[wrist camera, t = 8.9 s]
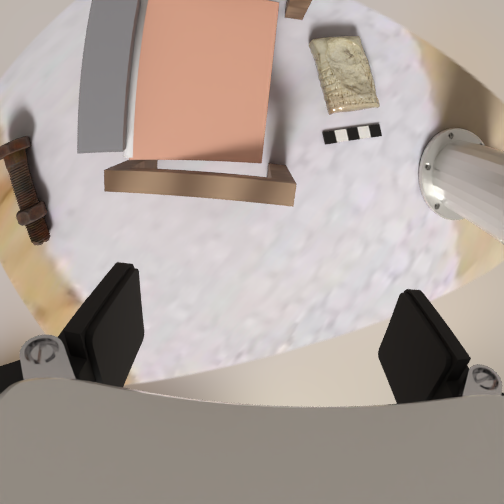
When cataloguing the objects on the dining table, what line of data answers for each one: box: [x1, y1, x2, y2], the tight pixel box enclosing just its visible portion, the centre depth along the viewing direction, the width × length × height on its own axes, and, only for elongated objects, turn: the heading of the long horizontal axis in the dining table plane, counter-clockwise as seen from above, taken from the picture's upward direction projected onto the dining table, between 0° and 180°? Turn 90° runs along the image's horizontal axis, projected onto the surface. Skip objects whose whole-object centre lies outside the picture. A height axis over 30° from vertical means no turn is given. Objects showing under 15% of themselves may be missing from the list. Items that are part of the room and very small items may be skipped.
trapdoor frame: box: [104, 0, 312, 206], centre depth 28 cm, size 17×22×10 cm
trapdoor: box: [77, 0, 279, 163], centre depth 24 cm, size 16×16×5 cm
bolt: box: [0, 136, 50, 245], centre depth 36 cm, size 6×5×15 cm
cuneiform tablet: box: [309, 36, 382, 144], centre depth 31 cm, size 7×4×12 cm
